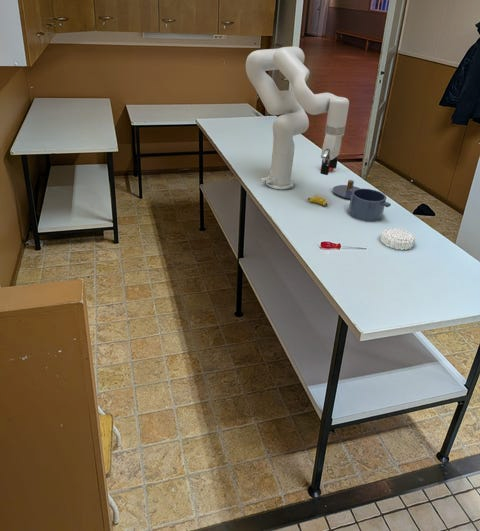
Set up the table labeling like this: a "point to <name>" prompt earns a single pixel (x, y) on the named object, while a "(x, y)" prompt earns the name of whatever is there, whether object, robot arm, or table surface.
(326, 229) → the table surface
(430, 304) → the table surface
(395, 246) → the mooncake
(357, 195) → the pot
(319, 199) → the yellow segmented pod
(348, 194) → the lid
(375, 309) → the table surface
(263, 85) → the robot arm
